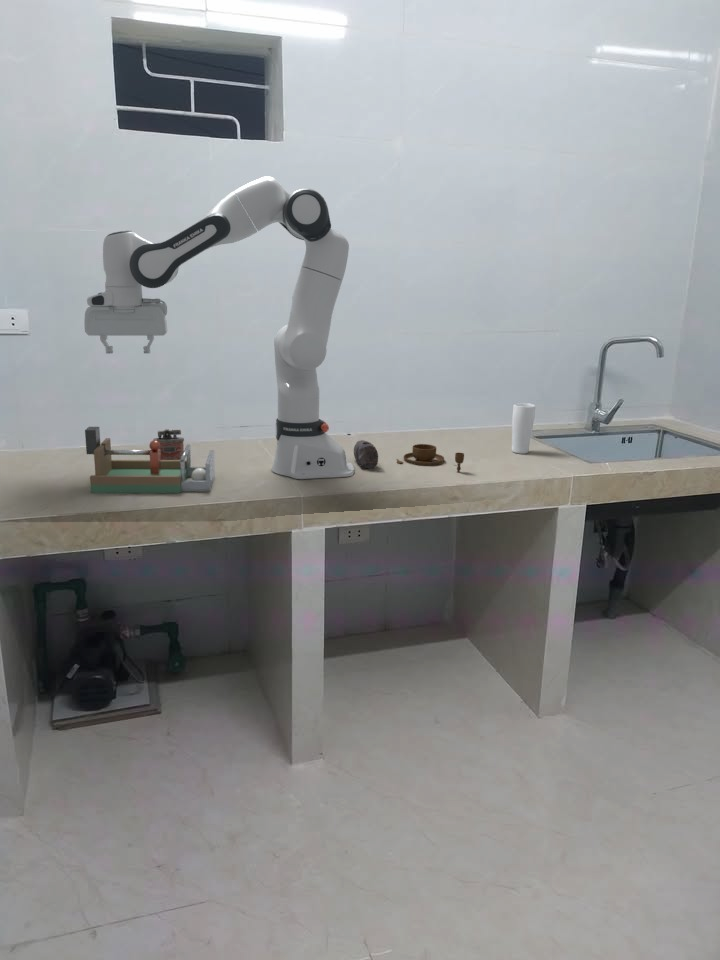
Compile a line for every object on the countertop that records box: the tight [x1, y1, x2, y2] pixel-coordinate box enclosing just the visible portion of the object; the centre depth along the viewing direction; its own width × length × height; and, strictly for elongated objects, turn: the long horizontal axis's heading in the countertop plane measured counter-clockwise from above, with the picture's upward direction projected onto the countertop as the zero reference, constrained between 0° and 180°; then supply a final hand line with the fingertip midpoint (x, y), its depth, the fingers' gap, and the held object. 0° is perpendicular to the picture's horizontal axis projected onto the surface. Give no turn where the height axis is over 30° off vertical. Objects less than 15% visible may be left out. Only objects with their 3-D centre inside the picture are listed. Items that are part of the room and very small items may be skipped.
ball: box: [191, 468, 206, 481], centre depth 188 cm, size 4×4×4 cm
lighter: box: [152, 428, 185, 460], centre depth 203 cm, size 8×3×10 cm, turn 105°
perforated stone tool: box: [353, 439, 379, 469], centre depth 212 cm, size 15×5×7 cm, turn 13°
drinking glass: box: [511, 402, 536, 455], centre depth 231 cm, size 7×7×15 cm
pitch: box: [89, 437, 188, 494], centre depth 185 cm, size 21×16×10 cm
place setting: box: [395, 443, 465, 474], centre depth 214 cm, size 18×20×6 cm
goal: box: [180, 443, 216, 493], centre depth 187 cm, size 7×14×8 cm, turn 6°
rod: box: [84, 426, 161, 474], centre depth 184 cm, size 17×4×11 cm, turn 96°
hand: (128, 353), depth 192 cm, fingers open, 8 cm apart
